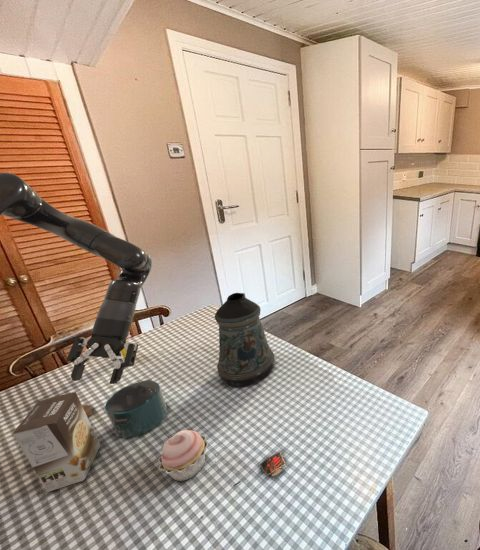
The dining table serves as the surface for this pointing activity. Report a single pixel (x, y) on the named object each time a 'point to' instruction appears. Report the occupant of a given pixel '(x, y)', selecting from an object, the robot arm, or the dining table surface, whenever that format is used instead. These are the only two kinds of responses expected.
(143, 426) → the enamel pot
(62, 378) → the dining table surface
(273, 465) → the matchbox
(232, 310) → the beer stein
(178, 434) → the cupcake
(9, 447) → the dining table surface
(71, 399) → the coffee box
